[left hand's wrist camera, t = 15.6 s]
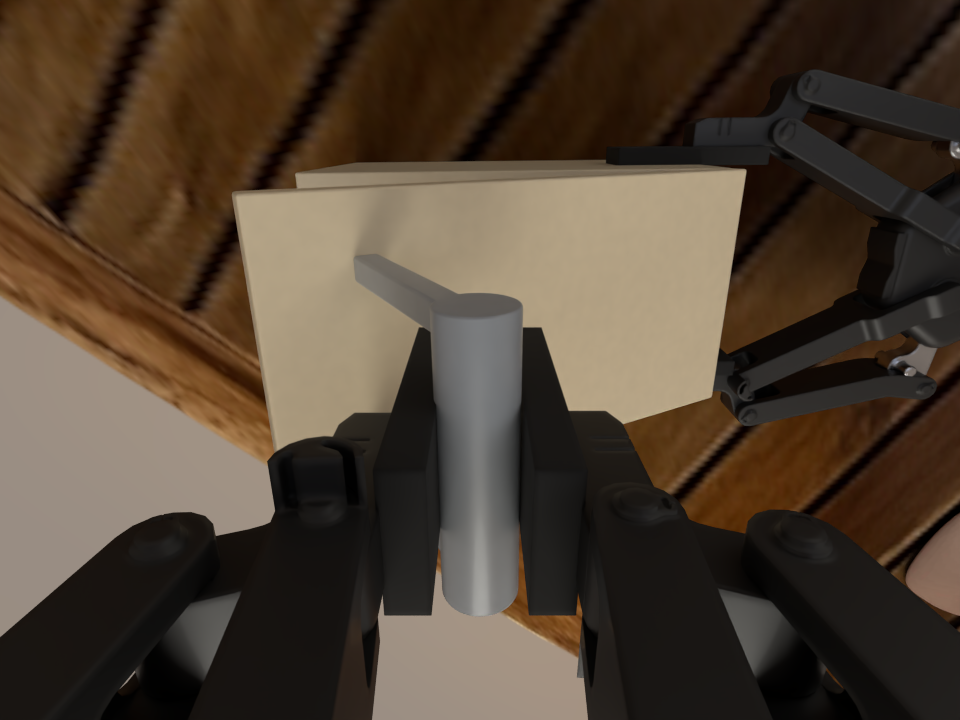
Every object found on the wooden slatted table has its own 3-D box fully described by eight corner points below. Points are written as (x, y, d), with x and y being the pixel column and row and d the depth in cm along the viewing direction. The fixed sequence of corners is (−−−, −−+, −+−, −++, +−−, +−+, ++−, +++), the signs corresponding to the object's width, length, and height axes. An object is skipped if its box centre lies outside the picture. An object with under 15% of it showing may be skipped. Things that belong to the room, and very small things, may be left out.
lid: (284, 511, 17) (363, 736, 10) (231, 191, 14) (300, 233, 7) (697, 390, 25) (888, 477, 18) (728, 168, 21) (977, 178, 15)
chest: (369, 319, 35) (322, 392, 25) (355, 162, 32) (294, 172, 22) (638, 317, 35) (700, 389, 25) (653, 159, 31) (733, 167, 21)
